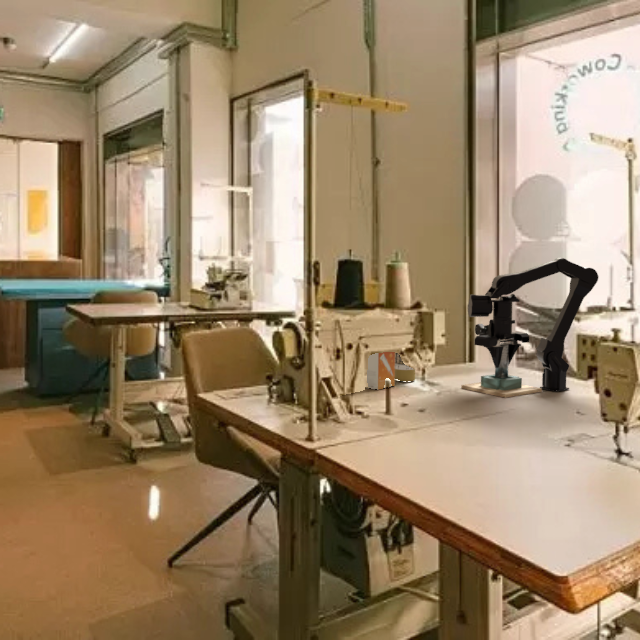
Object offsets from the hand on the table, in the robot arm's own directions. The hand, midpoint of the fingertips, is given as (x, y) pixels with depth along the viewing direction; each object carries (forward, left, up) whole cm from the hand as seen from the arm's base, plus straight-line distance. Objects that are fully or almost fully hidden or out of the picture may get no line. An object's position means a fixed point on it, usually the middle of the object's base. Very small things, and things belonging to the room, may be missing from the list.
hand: (501, 367), depth 230 cm
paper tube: (+29, +14, -7) cm, 33 cm away
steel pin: (0, 0, -3) cm, 3 cm away
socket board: (0, 0, -7) cm, 7 cm away
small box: (+25, +28, -7) cm, 38 cm away
